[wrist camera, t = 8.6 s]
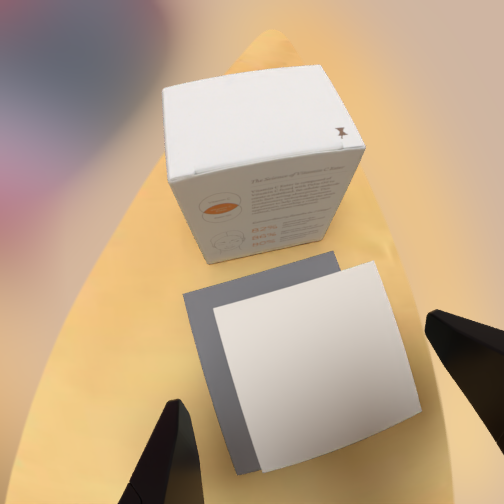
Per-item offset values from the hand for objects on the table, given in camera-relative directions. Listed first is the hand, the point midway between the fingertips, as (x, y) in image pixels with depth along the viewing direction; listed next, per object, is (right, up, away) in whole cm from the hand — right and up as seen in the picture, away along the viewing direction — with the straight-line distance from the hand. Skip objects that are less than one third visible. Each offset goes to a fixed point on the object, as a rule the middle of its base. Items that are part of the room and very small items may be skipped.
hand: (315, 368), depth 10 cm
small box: (-2, +6, +13) cm, 14 cm away
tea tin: (0, -3, +8) cm, 9 cm away
